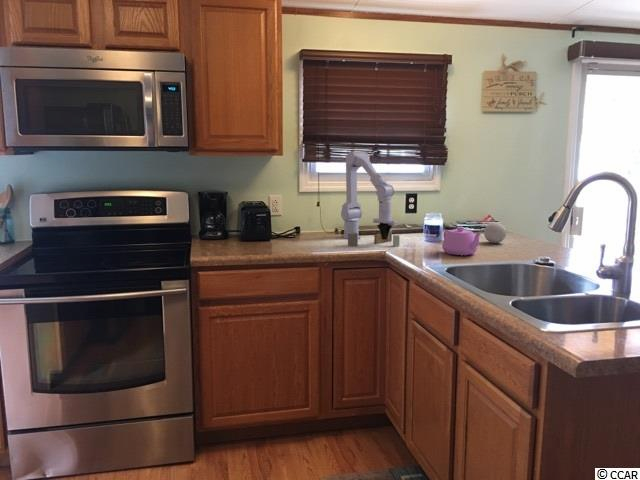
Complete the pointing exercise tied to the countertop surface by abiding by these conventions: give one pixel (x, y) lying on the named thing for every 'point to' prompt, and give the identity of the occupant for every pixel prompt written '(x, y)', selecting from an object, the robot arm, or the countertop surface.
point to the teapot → (460, 241)
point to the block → (352, 239)
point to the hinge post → (391, 234)
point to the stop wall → (395, 240)
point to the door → (379, 239)
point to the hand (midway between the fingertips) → (384, 239)
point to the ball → (495, 232)
